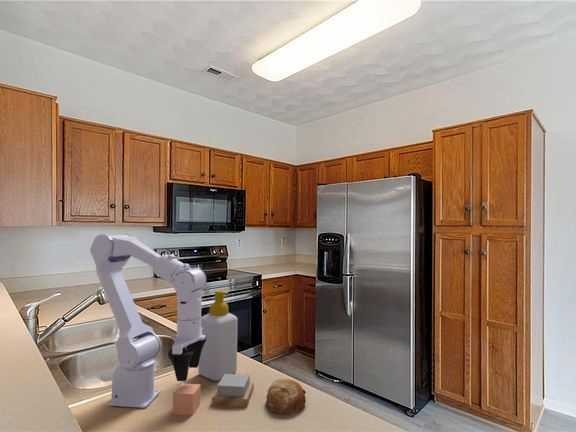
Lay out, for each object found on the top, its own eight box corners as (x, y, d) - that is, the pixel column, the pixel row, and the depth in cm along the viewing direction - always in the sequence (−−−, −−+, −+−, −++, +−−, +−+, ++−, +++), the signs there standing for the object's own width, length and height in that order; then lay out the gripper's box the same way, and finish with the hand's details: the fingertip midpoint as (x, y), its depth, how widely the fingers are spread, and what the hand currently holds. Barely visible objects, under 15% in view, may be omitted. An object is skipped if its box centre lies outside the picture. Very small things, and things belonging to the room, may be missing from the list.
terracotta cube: (172, 414, 78) (173, 393, 78) (180, 403, 83) (181, 383, 83) (192, 415, 78) (193, 394, 78) (200, 404, 83) (200, 384, 83)
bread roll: (267, 411, 87) (255, 385, 86) (300, 388, 90) (288, 363, 89) (280, 432, 78) (266, 403, 77) (315, 406, 81) (303, 378, 80)
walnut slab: (211, 407, 82) (211, 397, 83) (221, 390, 91) (221, 381, 91) (246, 409, 82) (247, 399, 82) (253, 391, 91) (253, 382, 91)
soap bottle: (215, 383, 94) (217, 295, 95) (196, 374, 100) (198, 291, 101) (238, 372, 101) (240, 290, 103) (218, 365, 107) (220, 287, 108)
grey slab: (217, 395, 83) (217, 385, 84) (224, 382, 90) (224, 373, 91) (244, 396, 83) (244, 386, 83) (249, 384, 90) (249, 374, 90)
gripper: (194, 326, 74) (192, 388, 73) (213, 311, 88) (212, 362, 88) (164, 325, 75) (162, 386, 74) (188, 310, 89) (187, 361, 88)
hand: (187, 373), depth 81 cm, fingers open, 7 cm apart
